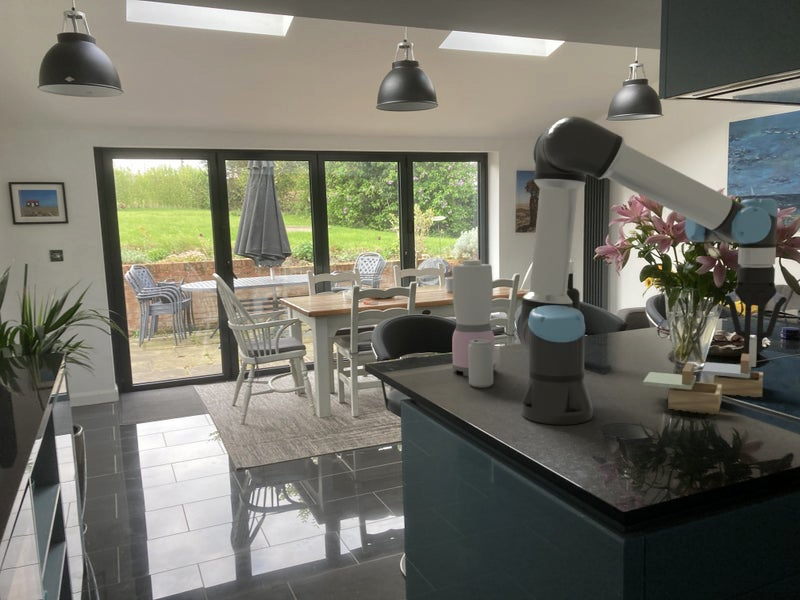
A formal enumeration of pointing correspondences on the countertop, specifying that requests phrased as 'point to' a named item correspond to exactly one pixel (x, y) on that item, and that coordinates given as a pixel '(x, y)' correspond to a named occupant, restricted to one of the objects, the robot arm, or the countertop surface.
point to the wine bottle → (573, 290)
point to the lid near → (672, 378)
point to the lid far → (729, 368)
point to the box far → (741, 385)
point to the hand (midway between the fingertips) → (752, 365)
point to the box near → (696, 398)
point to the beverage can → (480, 363)
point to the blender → (471, 309)
